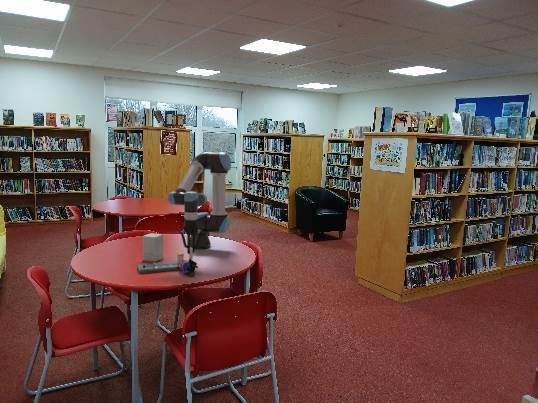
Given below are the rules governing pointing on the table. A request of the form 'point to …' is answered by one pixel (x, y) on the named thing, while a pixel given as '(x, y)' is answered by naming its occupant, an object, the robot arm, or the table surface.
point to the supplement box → (152, 247)
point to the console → (158, 267)
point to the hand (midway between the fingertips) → (190, 259)
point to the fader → (179, 257)
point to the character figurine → (188, 266)
